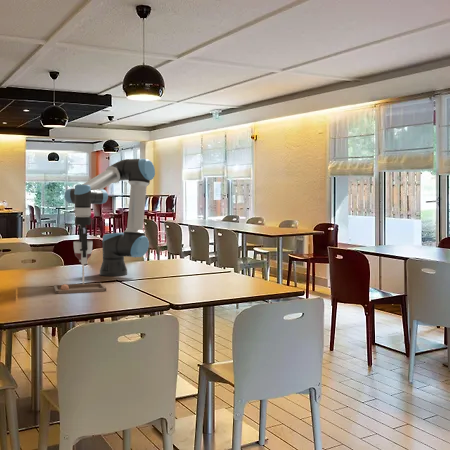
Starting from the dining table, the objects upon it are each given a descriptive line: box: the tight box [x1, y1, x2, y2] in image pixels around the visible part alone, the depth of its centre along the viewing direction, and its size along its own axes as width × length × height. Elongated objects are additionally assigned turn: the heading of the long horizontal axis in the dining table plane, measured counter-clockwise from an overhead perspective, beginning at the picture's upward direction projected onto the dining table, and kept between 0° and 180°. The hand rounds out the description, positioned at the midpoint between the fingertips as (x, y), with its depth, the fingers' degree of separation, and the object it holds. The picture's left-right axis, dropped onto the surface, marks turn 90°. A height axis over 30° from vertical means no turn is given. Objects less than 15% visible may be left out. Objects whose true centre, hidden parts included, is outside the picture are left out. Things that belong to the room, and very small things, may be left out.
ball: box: [61, 283, 69, 290], centre depth 259 cm, size 4×4×4 cm
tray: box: [53, 282, 107, 295], centre depth 265 cm, size 22×16×2 cm
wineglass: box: [72, 240, 93, 284], centre depth 279 cm, size 9×10×22 cm
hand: (83, 263), depth 279 cm, fingers closed on wineglass, 9 cm apart
